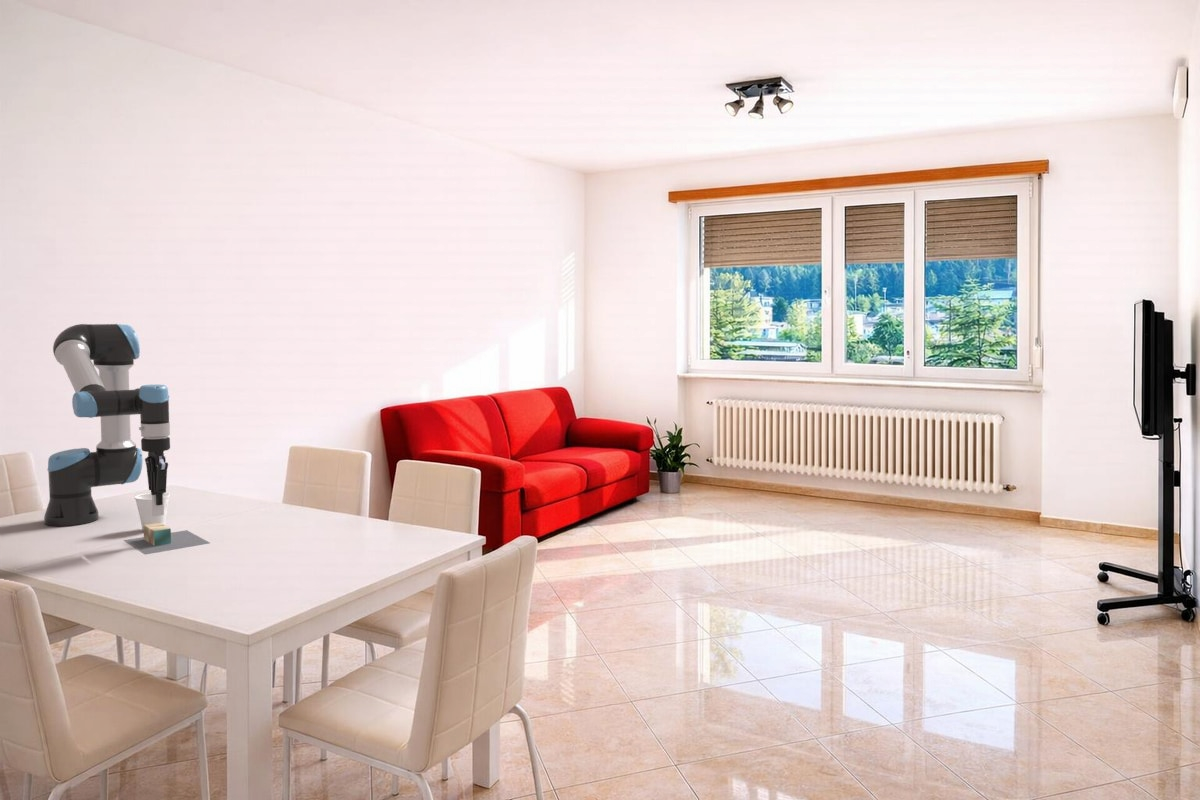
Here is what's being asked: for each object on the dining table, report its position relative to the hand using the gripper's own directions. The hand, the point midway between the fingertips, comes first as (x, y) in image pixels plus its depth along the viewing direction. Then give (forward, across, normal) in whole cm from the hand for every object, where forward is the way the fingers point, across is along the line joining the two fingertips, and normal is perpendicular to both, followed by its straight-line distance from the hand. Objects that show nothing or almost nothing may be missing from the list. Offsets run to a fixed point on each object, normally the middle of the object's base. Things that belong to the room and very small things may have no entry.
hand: (158, 515), depth 249 cm
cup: (+9, -18, +4) cm, 21 cm away
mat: (+9, +1, +2) cm, 9 cm away
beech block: (+6, +3, 0) cm, 7 cm away
